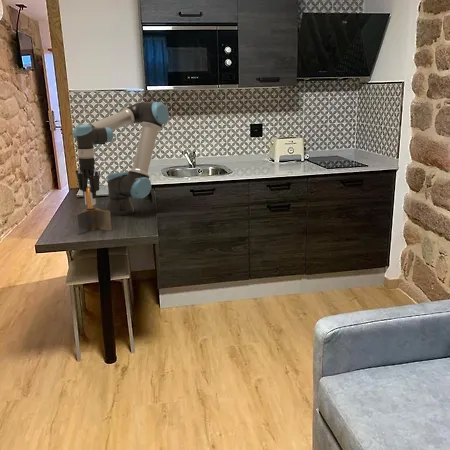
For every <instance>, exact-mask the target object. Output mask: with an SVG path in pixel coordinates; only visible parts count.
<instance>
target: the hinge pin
mask: <svg viewBox="0 0 450 450" xmlns="http://www.w3.org/2000/svg"><path fill="white" fill-rule="evenodd" d="M90 192H91V187H90V186H87V187H86V194H87V205H86V206H87V208H88V210H91V211H92V210H94V208H95V205H91V197H90Z"/></svg>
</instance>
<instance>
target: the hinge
mask: <svg viewBox="0 0 450 450" xmlns="http://www.w3.org/2000/svg"><path fill="white" fill-rule="evenodd" d="M111 220H112V219H111V215H110V211H107V209H106V210H104V209H101V208H99V207H94V210H92V211H91V210H88V207H87V208H84V209H82V210H81V212H78V213H76V214H75V223H76V234H77V235H81V234H82V235H83V234H84V233H86V232H90V231H92V232H93V231H96V230H99V231H100V230H101V231H108V232H111V231H112V221H111Z"/></svg>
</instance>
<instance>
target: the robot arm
mask: <svg viewBox="0 0 450 450" xmlns="http://www.w3.org/2000/svg"><path fill="white" fill-rule="evenodd" d="M169 118H170V113H169V110H168V107H167V105H165V103H162V102H159V101H153V102H152V101H151V102H150V101H141V102H137V103H134V104H132V105H128V106H127V107H124V108H122V110H121V111H120V112H117V113H115V114H114V113H113V114H112V115H109V116H107V117H105V118H102V119H99V120H97V121H94V122H91V123H90V124H77V125H76V126H75V128H74V129H73V131H72V135H73V138H74V140H75V141H76V146H77V155H78V165H79V168H78V169H77V170H75V175H76V177H77V179H76V180H77V184H78V190H79V191H82V193H83V194H82V195H83V198H84V203H85V206H88V205H87V194H86V187H91V192H90V197H91V205H94V206H95V205H96V204H97V201H96V199H97V191H100V174H101V171H100V170H97V169H96V167H95V165H96V160H95V147H94V145H96V144H98V145H99V144H107V143H111V142H112V141H113V140H114V132H113V131H115V130H117V129H120V128H122V127H125V126H126V125H129V126H132V125H133V124H140V125H141V132H140V137H139V140H138V145H137V149H136V152H135V156H134V159H133V165H132V167H131V169H129V170H128V171H121V172H113V173H109V174H108V175H107V181H106V182H107V190H108V203H107V207H106V211H110V216H115V217H116V216H118V217H119V216H126V215H127V216H128V215H131V214H134V212H135V210H134V209H135V208H134V205H133V203H132V201H131V198H133V199H144V198H146V197H147V196H148V195H149V194H150V193H151V190H152V182H151V180H150V175H149V173H148V172H149V168H150V164H151V160H152V157H153V153H154V148H155V144H156V140H157V137H158V132H159V131H161V130H162V128H163V125H165V124H167V123H168V121H169ZM88 182H89V186H88Z"/></svg>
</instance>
